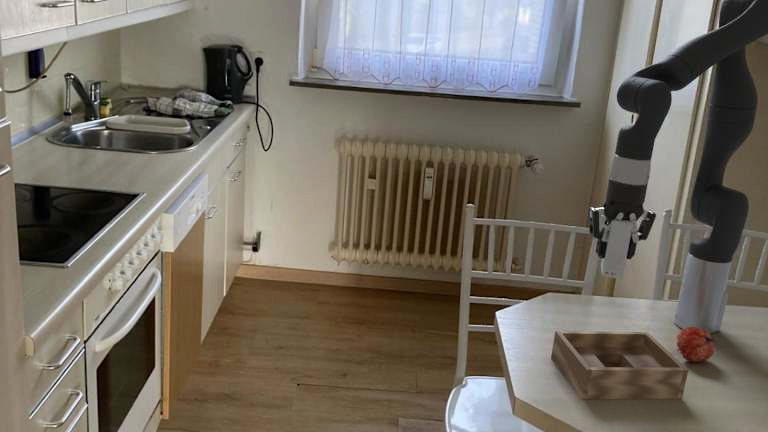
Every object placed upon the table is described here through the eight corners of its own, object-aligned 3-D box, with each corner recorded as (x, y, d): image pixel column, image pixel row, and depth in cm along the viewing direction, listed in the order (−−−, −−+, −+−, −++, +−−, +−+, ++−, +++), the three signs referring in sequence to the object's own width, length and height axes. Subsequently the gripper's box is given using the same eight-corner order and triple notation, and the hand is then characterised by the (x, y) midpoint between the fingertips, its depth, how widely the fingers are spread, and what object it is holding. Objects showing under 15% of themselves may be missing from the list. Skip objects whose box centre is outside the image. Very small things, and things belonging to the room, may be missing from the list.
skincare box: (623, 279, 159) (633, 224, 155) (601, 276, 159) (611, 220, 156) (620, 269, 164) (630, 215, 161) (600, 266, 165) (609, 212, 162)
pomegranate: (666, 365, 164) (699, 357, 155) (661, 331, 166) (693, 321, 158) (694, 367, 166) (728, 358, 158) (689, 333, 169) (722, 323, 160)
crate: (642, 358, 161) (647, 332, 159) (682, 398, 146) (688, 370, 144) (550, 357, 158) (555, 331, 156) (581, 399, 143) (587, 369, 141)
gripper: (653, 175, 161) (638, 252, 165) (587, 171, 158) (574, 250, 163) (671, 185, 153) (654, 265, 158) (602, 181, 151) (588, 263, 156)
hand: (614, 257), depth 161 cm, fingers closed on skincare box, 5 cm apart
